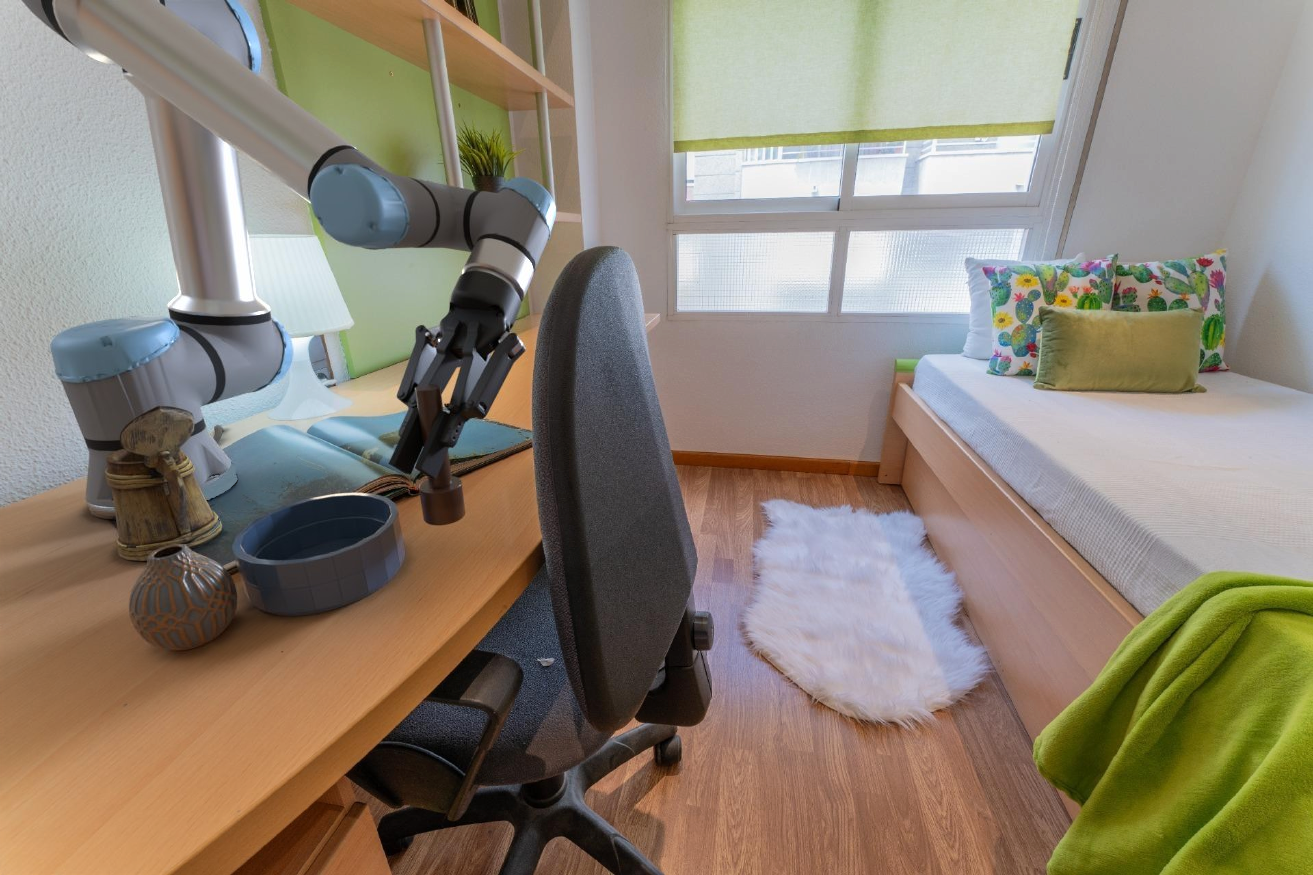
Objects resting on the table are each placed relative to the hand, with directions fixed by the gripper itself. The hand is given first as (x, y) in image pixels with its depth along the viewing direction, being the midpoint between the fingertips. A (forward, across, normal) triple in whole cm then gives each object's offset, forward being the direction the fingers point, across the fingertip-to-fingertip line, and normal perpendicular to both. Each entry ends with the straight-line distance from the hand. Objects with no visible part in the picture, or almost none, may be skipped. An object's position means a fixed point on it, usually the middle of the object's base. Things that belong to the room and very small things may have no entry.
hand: (412, 470), depth 53 cm
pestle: (+2, 0, -8) cm, 8 cm away
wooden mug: (+12, +30, -5) cm, 32 cm away
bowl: (+11, +9, -6) cm, 15 cm away
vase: (+19, +13, +2) cm, 23 cm away
